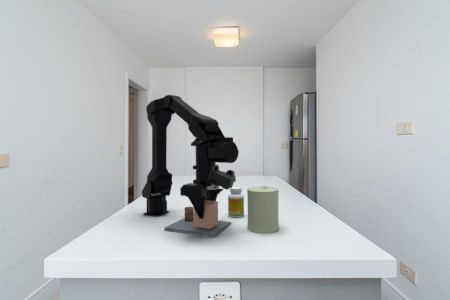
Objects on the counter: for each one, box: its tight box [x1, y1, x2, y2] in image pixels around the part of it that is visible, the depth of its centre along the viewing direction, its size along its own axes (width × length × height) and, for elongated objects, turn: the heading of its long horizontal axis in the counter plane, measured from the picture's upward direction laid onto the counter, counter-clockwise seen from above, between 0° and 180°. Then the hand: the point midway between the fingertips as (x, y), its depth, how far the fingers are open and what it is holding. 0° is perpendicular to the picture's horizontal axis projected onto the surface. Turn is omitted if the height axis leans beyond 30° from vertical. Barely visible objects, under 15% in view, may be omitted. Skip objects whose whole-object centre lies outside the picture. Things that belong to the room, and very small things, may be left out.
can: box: [246, 186, 280, 234], centre depth 77 cm, size 9×9×12 cm
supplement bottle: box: [227, 186, 245, 219], centre depth 90 cm, size 5×5×10 cm
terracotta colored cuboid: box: [194, 200, 219, 229], centre depth 76 cm, size 5×5×7 cm
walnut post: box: [184, 206, 194, 222], centre depth 83 cm, size 3×3×4 cm
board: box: [163, 217, 232, 238], centre depth 78 cm, size 16×12×1 cm
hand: (206, 215), depth 76 cm, fingers open, 6 cm apart
